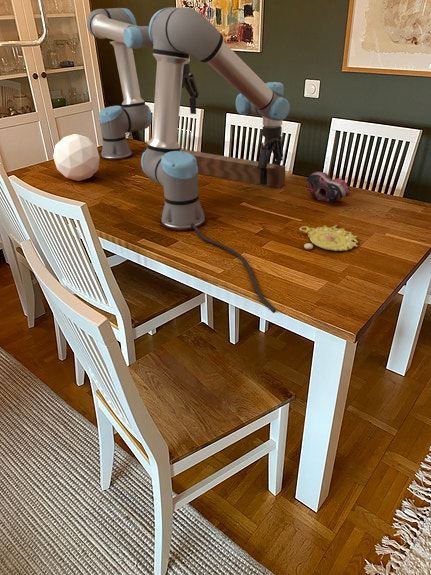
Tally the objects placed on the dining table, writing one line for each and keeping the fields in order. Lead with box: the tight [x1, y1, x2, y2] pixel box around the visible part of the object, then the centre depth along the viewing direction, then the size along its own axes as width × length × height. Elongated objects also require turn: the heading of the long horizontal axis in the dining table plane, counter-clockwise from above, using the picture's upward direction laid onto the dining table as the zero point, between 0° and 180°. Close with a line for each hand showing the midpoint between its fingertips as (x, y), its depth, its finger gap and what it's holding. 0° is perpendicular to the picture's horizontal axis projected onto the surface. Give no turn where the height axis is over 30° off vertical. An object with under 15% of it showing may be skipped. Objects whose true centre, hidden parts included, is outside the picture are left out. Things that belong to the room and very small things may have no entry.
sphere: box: [52, 133, 101, 182], centre depth 194 cm, size 19×20×20 cm
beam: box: [180, 148, 286, 189], centre depth 195 cm, size 54×5×8 cm, turn 57°
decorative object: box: [299, 224, 359, 252], centre depth 141 cm, size 21×2×20 cm
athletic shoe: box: [304, 171, 351, 203], centre depth 169 cm, size 11×22×12 cm
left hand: (184, 116), depth 194 cm, fingers open, 13 cm apart
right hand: (270, 180), depth 185 cm, fingers open, 11 cm apart
